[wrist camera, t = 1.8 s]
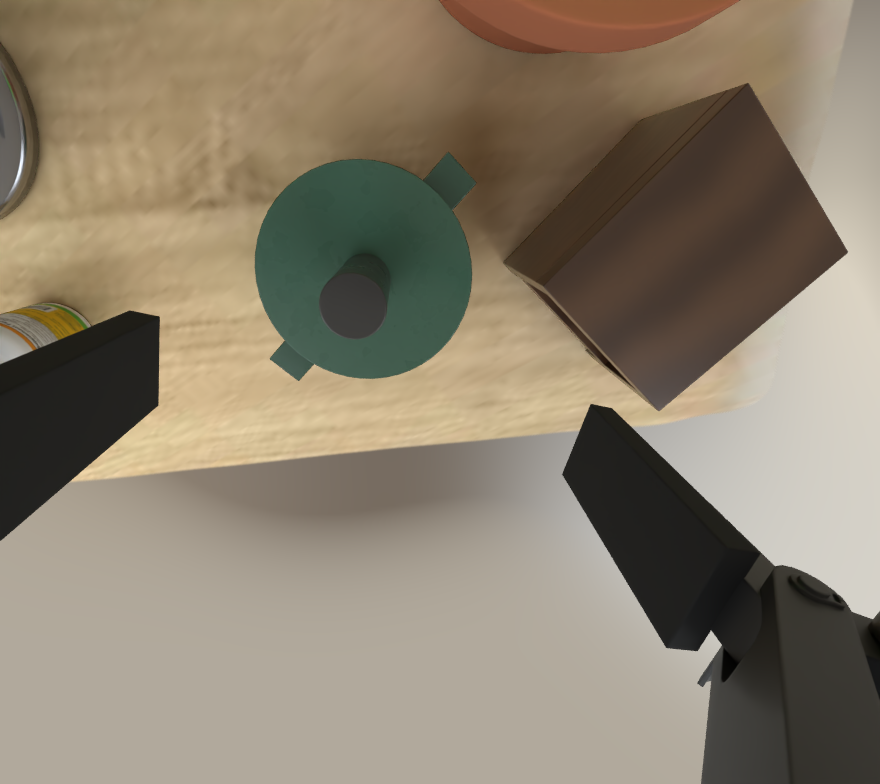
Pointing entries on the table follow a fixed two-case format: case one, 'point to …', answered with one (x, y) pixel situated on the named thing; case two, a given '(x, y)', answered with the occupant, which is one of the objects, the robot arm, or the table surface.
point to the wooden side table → (680, 243)
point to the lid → (363, 268)
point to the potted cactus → (581, 22)
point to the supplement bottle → (36, 328)
